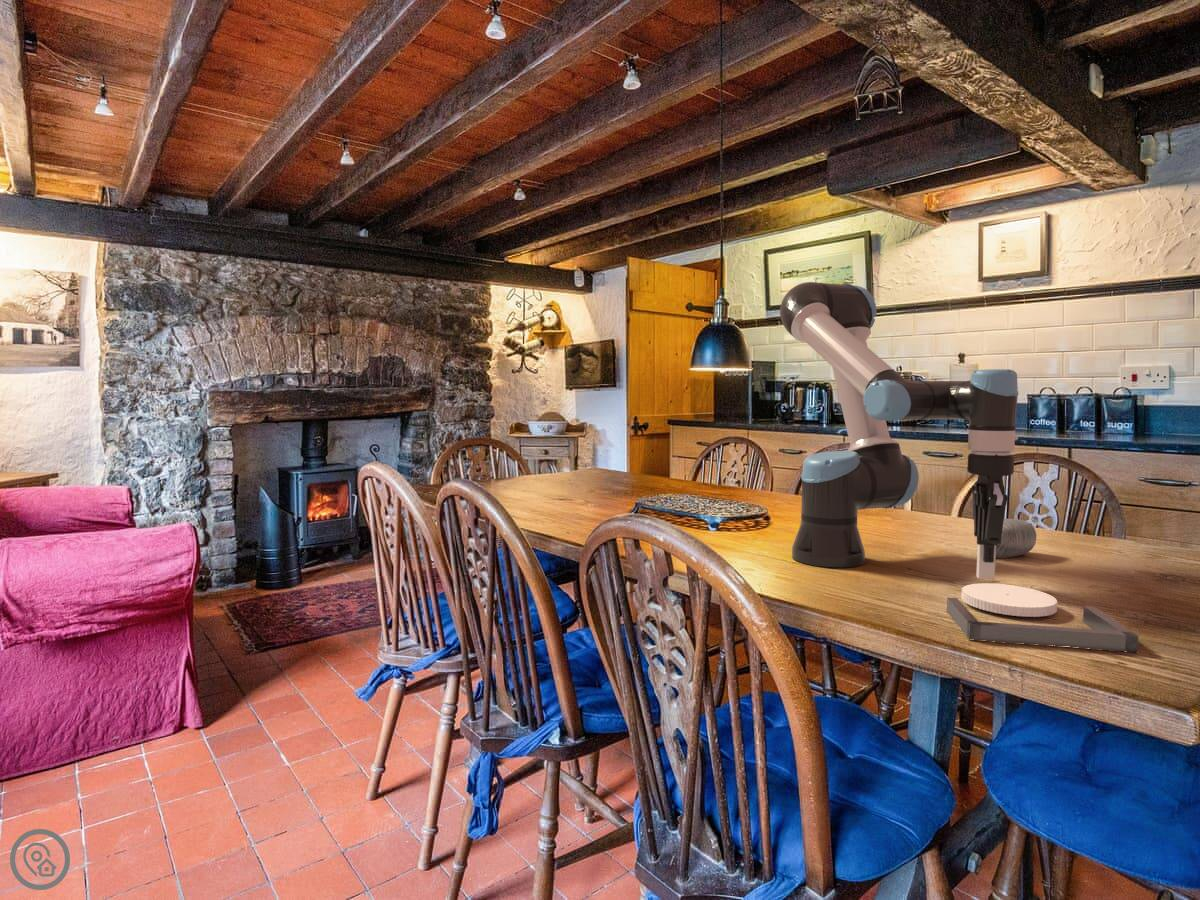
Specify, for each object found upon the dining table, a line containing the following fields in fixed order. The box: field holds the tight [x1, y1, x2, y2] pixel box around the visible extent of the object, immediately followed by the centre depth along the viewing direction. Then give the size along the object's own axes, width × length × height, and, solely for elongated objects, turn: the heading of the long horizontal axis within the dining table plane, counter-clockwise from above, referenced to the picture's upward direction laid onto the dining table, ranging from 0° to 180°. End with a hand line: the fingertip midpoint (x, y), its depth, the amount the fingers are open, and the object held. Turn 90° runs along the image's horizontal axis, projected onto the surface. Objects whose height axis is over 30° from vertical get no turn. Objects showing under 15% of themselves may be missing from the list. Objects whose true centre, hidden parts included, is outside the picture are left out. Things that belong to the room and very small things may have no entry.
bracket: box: [946, 597, 1139, 653], centre depth 106 cm, size 22×14×2 cm, turn 76°
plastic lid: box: [961, 582, 1058, 618], centre depth 118 cm, size 14×14×2 cm
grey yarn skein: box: [995, 518, 1038, 559], centre depth 155 cm, size 14×10×10 cm
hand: (985, 577), depth 130 cm, fingers closed
